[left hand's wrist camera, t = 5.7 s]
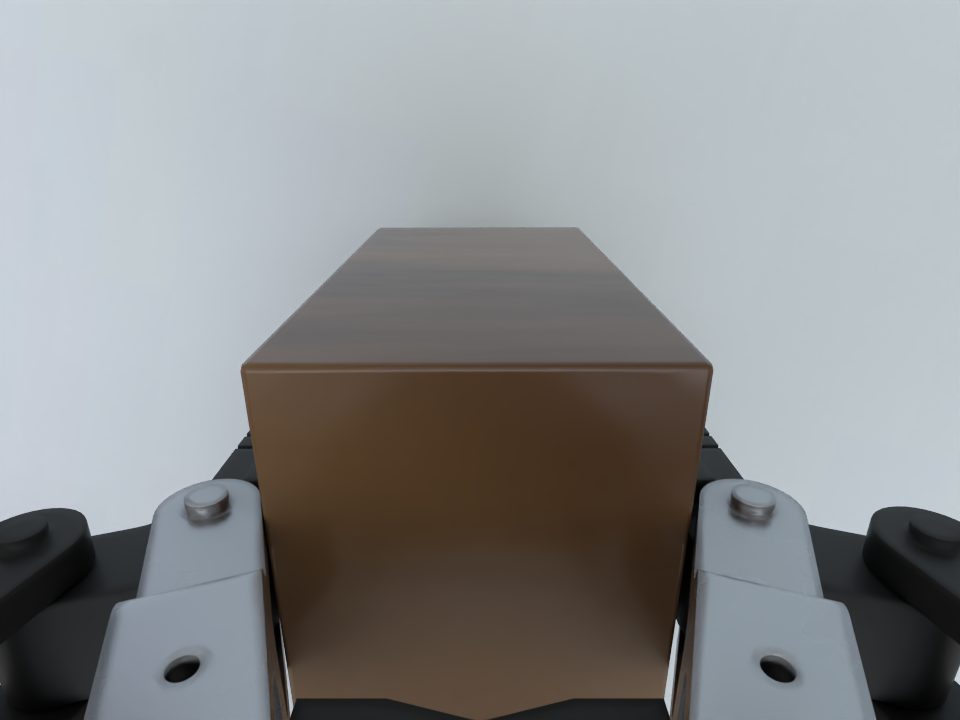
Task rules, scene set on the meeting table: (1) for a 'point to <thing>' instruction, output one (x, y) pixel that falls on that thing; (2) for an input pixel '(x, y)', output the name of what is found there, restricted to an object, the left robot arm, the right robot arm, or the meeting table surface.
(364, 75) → the meeting table surface
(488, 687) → the bar
